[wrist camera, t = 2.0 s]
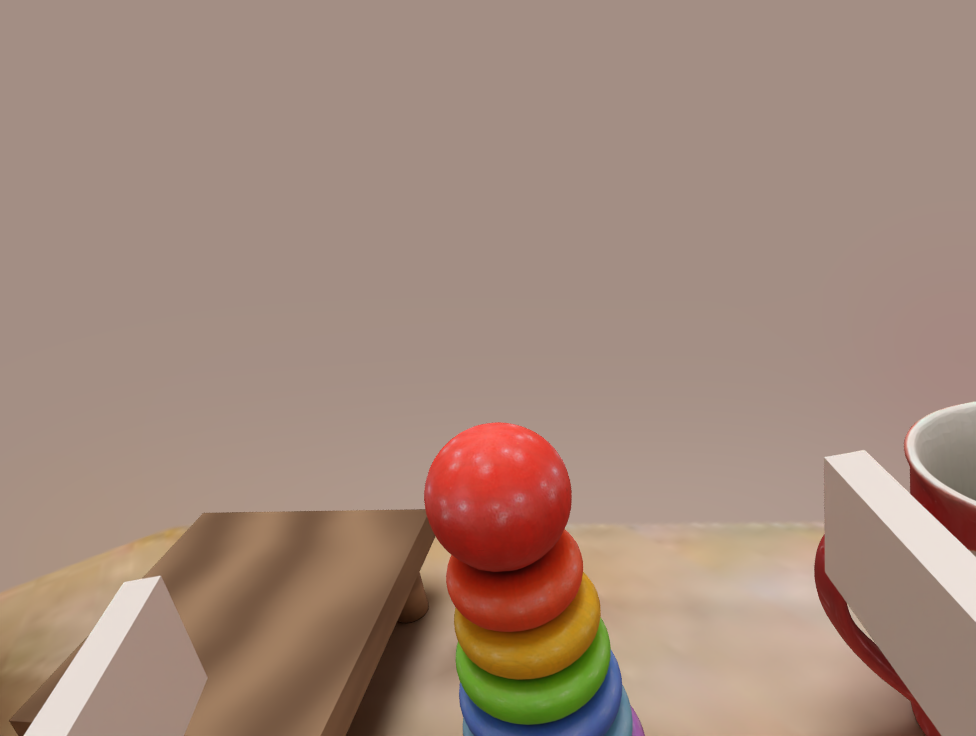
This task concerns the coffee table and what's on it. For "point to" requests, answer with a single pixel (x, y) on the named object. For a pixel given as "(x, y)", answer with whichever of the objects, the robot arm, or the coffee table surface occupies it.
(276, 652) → the footstool
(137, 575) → the coffee table surface
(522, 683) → the stacking toy
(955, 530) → the mug
